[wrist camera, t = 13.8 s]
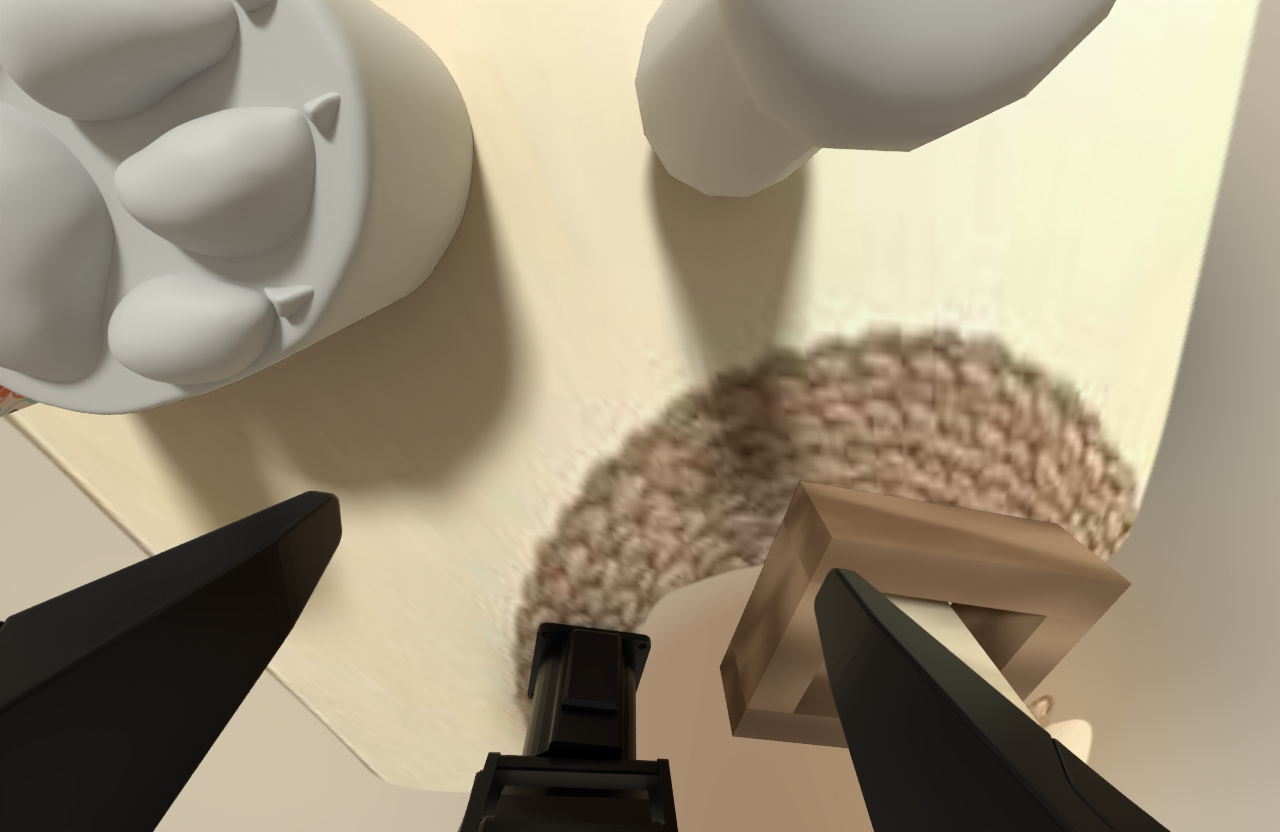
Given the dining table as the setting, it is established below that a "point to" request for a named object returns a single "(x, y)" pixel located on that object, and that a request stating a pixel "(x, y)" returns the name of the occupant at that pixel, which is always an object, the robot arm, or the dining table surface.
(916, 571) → the socket block
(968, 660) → the birch peg
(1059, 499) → the dining table surface
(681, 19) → the salt shaker
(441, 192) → the lumpy-topped squat cylinder
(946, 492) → the dining table surface
